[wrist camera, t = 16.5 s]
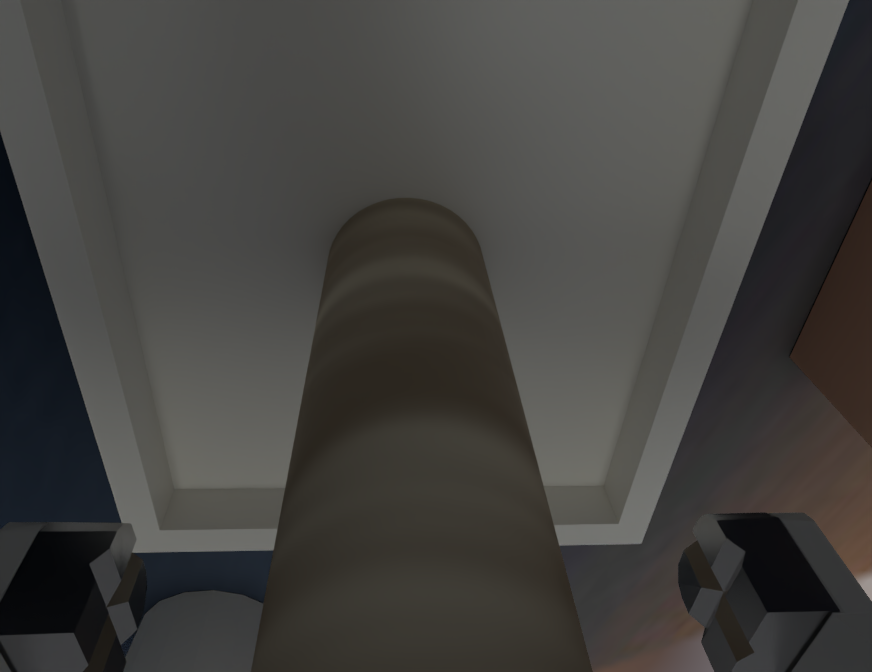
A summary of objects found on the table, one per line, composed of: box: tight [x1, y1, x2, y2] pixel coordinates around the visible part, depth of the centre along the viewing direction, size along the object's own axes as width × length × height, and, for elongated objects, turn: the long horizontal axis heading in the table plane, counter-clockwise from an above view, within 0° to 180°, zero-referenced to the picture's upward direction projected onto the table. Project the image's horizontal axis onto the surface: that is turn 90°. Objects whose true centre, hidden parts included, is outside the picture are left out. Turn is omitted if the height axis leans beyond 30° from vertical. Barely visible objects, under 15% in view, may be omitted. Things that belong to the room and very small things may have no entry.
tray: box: [0, 0, 849, 553], centre depth 16 cm, size 18×16×2 cm
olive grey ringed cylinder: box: [251, 198, 593, 672], centre depth 10 cm, size 4×4×16 cm
